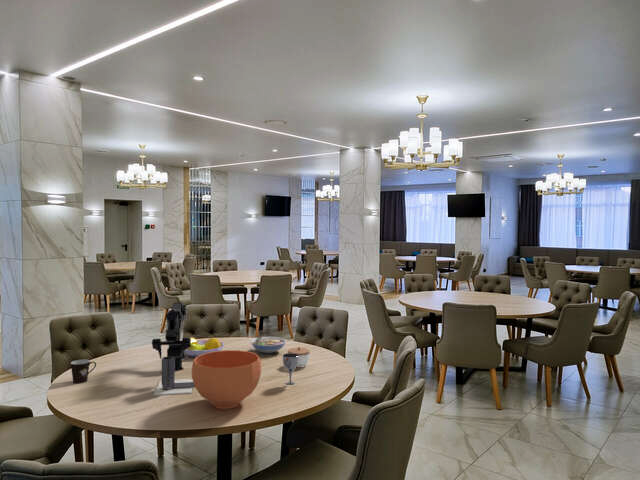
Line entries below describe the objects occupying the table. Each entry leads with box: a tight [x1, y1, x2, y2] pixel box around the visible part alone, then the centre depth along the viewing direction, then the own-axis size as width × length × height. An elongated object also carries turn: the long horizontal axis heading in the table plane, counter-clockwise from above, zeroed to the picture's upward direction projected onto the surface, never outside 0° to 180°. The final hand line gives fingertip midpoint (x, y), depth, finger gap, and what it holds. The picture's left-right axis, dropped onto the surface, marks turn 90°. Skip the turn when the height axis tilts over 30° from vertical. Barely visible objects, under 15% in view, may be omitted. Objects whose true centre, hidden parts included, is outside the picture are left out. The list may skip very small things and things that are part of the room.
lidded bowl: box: [287, 346, 311, 368], centre depth 263 cm, size 13×13×11 cm
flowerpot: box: [191, 349, 262, 410], centre depth 204 cm, size 30×30×20 cm
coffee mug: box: [70, 359, 97, 384], centre depth 233 cm, size 12×9×10 cm
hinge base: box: [153, 378, 195, 396], centre depth 225 cm, size 20×18×6 cm
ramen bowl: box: [250, 334, 287, 354], centre depth 293 cm, size 25×23×8 cm
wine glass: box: [282, 352, 298, 385], centre depth 231 cm, size 8×8×15 cm
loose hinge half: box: [161, 356, 176, 388], centre depth 219 cm, size 10×6×12 cm, turn 12°
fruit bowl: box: [184, 336, 225, 358], centre depth 285 cm, size 28×27×11 cm
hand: (170, 357), depth 229 cm, fingers open, 9 cm apart
